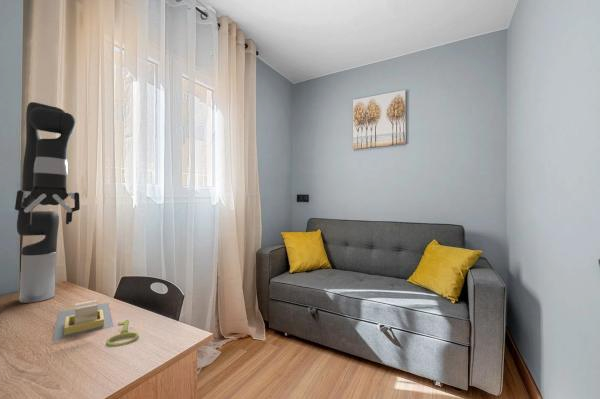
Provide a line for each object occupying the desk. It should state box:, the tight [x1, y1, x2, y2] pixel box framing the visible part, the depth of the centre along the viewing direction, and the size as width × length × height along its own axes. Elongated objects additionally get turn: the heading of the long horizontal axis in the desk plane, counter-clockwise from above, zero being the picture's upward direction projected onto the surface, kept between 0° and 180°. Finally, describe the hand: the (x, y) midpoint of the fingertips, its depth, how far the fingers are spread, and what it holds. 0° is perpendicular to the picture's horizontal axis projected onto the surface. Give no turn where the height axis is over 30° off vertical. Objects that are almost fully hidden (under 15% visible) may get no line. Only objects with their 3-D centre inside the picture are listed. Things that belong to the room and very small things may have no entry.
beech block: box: [74, 299, 98, 325], centre depth 75 cm, size 5×5×6 cm
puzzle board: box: [51, 302, 114, 342], centre depth 78 cm, size 22×13×3 cm, turn 41°
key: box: [105, 319, 140, 347], centre depth 71 cm, size 7×12×2 cm, turn 48°
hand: (48, 224), depth 79 cm, fingers open, 8 cm apart
